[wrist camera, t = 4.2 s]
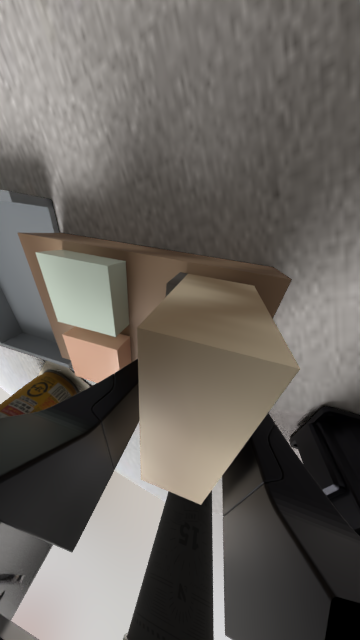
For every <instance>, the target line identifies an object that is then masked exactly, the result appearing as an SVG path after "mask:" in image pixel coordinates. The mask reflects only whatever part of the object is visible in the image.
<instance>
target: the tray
mask: <svg viewBox="0 0 360 640" xmlns="http://www.w3.org/2000/svg"><path fill="white" fill-rule="evenodd" d="M18 233H59V229H58V225H57V221H56V217H55V213H54V209H53V204H52V200H51V199H47V198H42V197H37V196H32V195H27V194H22V193H17V192H12V191H6V190H0V346H3V347H6V348H9V349H12V350H15V351H18V352H21V353H24V354H28V355H31V356H34V357H37V358H40V359H43V360H46V361H49V362H52V363H55V364H59V365H62V366H65V367H68V368H70V367H71V366H72V363H71V360H68V359H65V358H62V356H61V353H60V350H59V347H58V344H57V342H56V339H55V336H54V333H53V331H52V328H51V325H50V322H49V319H48V317H47V314H46V311H45V308H44V306H43V303H42V300H41V297H40V295H39V292H38V289H37V286H36V283H35V281H34V278H33V275H32V272H31V270H30V267H29V264H28V261H27V258H26V256H25V253H24V250H23V247H22V245H21V242H20V239H19V236H18Z"/></svg>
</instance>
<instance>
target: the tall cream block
mask: <svg viewBox="0 0 360 640" xmlns="http://www.w3.org/2000/svg"><path fill="white" fill-rule="evenodd" d="M137 339H138V380H139V421H140V461H141V480H143V481H145V482H148V483H150V484H153V485H155V486H157V487H160V488H162V489H165V490H167V491H169V492H172V493H174V494H177V495H179V496H181V497H184V498H186V499H188V500H191V501H193V502H196V503H198V504H200V505H201V504H202V503H203V501H204V500H205V499H206V497H207V496H208V494H209V493H210V492H211V490H212V489H213V488H214V486H215V485H216V483H217V482H218V481H219V479H220V478H221V477H222V475H223V474H224V473H225V471H226V470H227V468H228V467H229V466H230V464H231V463H232V462H233V460H234V459H235V457H236V456H237V455H238V453H239V452H240V451H241V449H242V448H243V446H244V445H245V444H246V442H247V441H248V440H249V438H250V437H251V436H252V434H253V433H254V431H255V430H256V429H257V427H258V426H259V425H260V423H261V422H262V420H263V419H264V418H265V416H266V415H267V414H268V412H269V411H270V410H271V408H272V407H273V405H274V404H275V403H276V401H277V400H278V399H279V397H280V396H281V394H282V393H283V392H284V390H285V389H286V388H287V386H288V385H289V383H290V382H291V381H292V379H293V378H294V377H295V375H296V374H297V373H298V371H299V370H300V368H299V366H298V364H297V362H296V360H295V359H294V357H293V355H292V353H291V351H290V350H289V348H288V346H287V344H286V342H285V341H284V339H283V337H282V335H281V333H280V331H279V330H278V328H277V326H276V324H275V322H274V321H273V319H272V317H271V315H270V313H269V312H268V310H267V308H266V306H265V304H264V303H263V301H262V299H261V297H260V295H259V294H258V292H257V290H256V288H255V286H253V285H247V284H242V283H237V282H231V281H226V280H220V279H215V278H210V277H204V276H199V275H193V274H188V273H182V272H180V273H178V274H177V275H176V276H175V277H174V278H172V279H171V280H170V281H169V282H168V283H167V284H166V297H165V299H164V300H163V301H162V302H161V303H160V304H159V305H158V306H157V307H156V308H155V309H154V310H153V311H152V312H151V313H150V314H149V316H148V317H147V318H146V319H145V320H144V321H143V322H142V323H141V324H140V325H139V326H138V327H137Z"/></svg>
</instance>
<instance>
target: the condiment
mask: <svg viewBox="0 0 360 640" xmlns="http://www.w3.org/2000/svg"><path fill="white" fill-rule="evenodd" d="M58 370H61V371H58ZM87 388H89V385H88V384H87V383H86V382H84V381H83V380H82V379H81V378H80V377H78V376H76V375H75V373H73V372H72V371H71V370H70V368H67V367H65V366H62V365H59V364H55V363H52V362H49V361H45V363H44V365H43V367H42V369H41V371H40V373H39V375H38V376H37V377H36V378H35V379H33V380H32V381H31V382H29V383H28V384H26V385H25V386H24V387H23V388H21V389H20V390H18V391H17V392H16V393H15V394H13V395H12V396H11V397H10V398H8V399H7V400H5V401H4V402H3V403H2V404H0V418H3V417H9V416H16V415H22V414H29V413H34V412H38V411H41V410H44V409H47V408H49V407H51V406H54V405H56V404H58V403H60V402H62V401H64V400H66V399H68V398H70V397H72V396H74V395H75V394H77V393H79V392H81V391H83V390H85V389H87Z"/></svg>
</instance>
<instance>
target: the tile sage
mask: <svg viewBox="0 0 360 640" xmlns="http://www.w3.org/2000/svg"><path fill="white" fill-rule="evenodd" d="M35 253H36V256H37V259H38V262H39V265H40V268H41V271H42V274H43V277H44V280H45V283H46V287H47V290H48V293H49V296H50V299H51V302H52V305H53V308H54V311H55V314H56V317H57V320H58V322H62V323H66V324H69V325H73V326H77V327H80V328H84V329H88V330H91V331H95V332H99V333H102V334H106V335H110V336H114V337H116V336H117V335H118V334H119V333H121V332H122V331H123V330H124V329H125V328H126V327H127V326H128V325H129V311H128V294H127V276H126V261H122V260H117V259H111V258H106V257H100V256H95V255H89V254H84V253H78V252H73V251H67V250H53V251H43V252H35Z"/></svg>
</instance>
